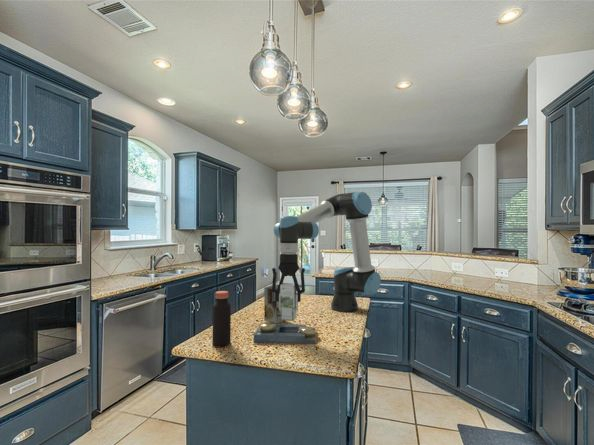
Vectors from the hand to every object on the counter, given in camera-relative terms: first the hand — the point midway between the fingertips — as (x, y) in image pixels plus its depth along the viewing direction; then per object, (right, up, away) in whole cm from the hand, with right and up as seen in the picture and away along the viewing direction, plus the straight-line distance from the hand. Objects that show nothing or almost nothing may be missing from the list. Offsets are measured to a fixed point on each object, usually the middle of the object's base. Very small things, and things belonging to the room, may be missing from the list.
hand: (288, 309), depth 130 cm
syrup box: (0, -4, 0) cm, 4 cm away
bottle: (-25, -11, -9) cm, 29 cm away
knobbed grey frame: (-3, -11, 0) cm, 12 cm away
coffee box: (-7, -12, +24) cm, 28 cm away
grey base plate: (+2, -11, 0) cm, 11 cm away
